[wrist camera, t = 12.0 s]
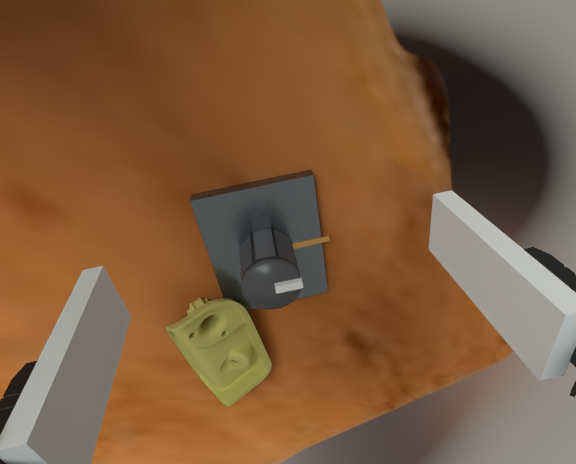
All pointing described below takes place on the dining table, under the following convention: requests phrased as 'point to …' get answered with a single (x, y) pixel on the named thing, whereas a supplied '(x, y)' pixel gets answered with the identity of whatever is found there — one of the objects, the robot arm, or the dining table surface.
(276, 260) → the knob
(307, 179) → the hub plate
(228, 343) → the plastic component
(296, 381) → the dining table surface
